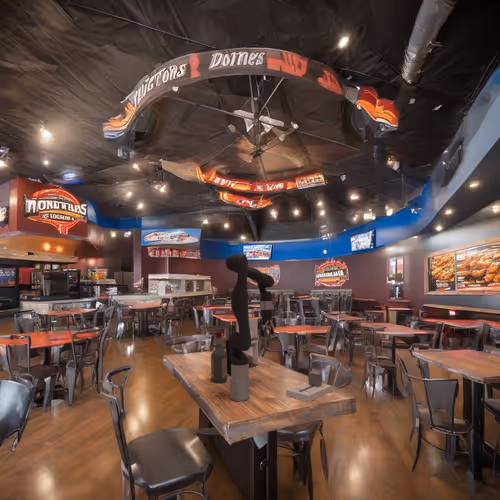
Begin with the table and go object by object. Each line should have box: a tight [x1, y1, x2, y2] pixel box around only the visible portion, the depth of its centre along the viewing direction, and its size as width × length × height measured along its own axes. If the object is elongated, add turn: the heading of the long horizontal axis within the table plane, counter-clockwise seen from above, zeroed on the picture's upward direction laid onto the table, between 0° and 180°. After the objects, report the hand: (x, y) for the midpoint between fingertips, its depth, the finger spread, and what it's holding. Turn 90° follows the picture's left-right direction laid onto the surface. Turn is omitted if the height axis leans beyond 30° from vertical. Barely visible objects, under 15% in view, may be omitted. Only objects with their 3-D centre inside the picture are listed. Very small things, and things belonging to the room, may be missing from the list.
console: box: [285, 381, 333, 403], centre depth 164 cm, size 22×14×3 cm, turn 135°
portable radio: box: [225, 336, 231, 376], centre depth 210 cm, size 8×6×25 cm
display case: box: [235, 317, 259, 369], centre depth 229 cm, size 11×11×35 cm
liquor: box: [210, 331, 228, 384], centre depth 194 cm, size 9×9×30 cm
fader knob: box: [307, 371, 323, 386], centre depth 169 cm, size 4×6×6 cm, turn 45°
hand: (267, 335), depth 187 cm, fingers open, 8 cm apart
